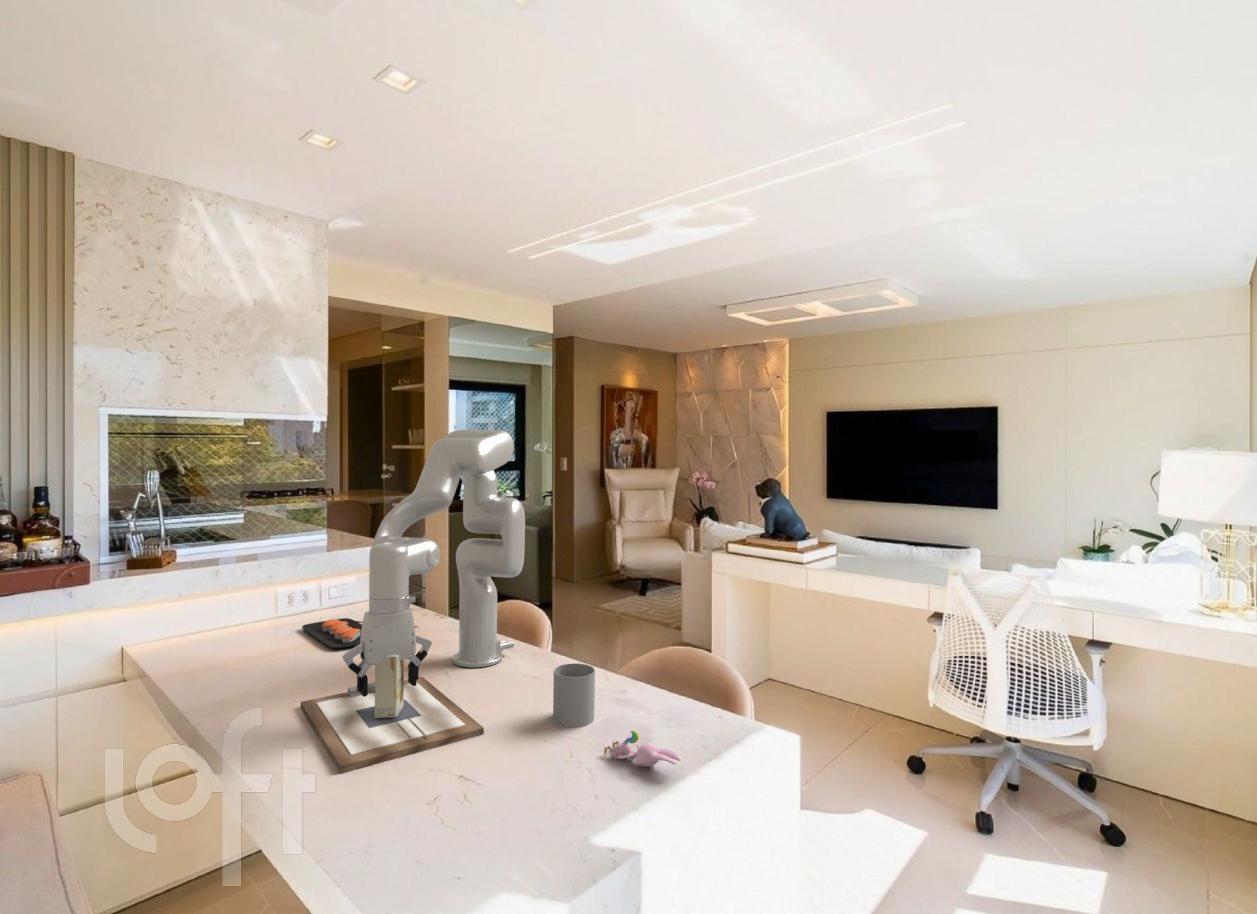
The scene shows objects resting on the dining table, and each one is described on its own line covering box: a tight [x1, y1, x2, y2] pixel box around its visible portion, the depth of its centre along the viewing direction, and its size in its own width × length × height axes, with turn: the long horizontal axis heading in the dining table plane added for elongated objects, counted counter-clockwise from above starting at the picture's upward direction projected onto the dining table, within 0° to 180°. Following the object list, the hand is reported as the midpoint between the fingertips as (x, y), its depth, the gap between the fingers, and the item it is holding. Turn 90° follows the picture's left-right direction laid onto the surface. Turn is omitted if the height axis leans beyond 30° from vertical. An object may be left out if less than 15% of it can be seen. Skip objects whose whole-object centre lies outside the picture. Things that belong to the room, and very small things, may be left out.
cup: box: [552, 663, 596, 728], centre depth 133 cm, size 8×8×10 cm
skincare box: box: [374, 655, 405, 718], centre depth 131 cm, size 6×4×12 cm
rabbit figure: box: [603, 730, 682, 768], centre depth 114 cm, size 6×6×15 cm
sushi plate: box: [301, 617, 418, 649], centre depth 193 cm, size 29×30×4 cm
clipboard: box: [300, 676, 485, 774], centre depth 131 cm, size 26×34×3 cm
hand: (388, 689), depth 131 cm, fingers open, 9 cm apart
